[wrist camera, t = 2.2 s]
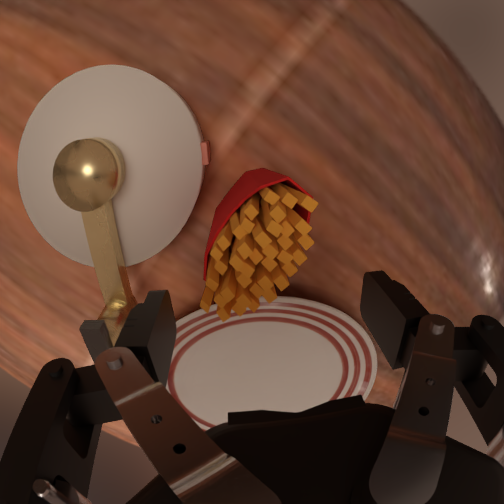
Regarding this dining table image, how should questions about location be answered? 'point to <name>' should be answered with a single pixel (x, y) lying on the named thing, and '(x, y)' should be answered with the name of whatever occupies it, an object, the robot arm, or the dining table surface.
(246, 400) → the dinner plate
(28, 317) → the dining table surface
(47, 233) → the crank housing
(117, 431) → the dining table surface
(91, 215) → the crank
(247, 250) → the french fries
